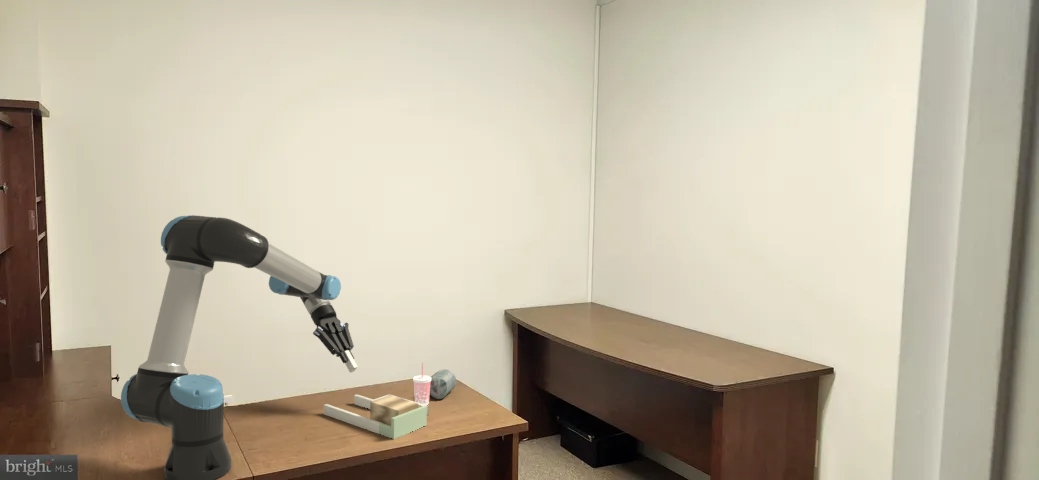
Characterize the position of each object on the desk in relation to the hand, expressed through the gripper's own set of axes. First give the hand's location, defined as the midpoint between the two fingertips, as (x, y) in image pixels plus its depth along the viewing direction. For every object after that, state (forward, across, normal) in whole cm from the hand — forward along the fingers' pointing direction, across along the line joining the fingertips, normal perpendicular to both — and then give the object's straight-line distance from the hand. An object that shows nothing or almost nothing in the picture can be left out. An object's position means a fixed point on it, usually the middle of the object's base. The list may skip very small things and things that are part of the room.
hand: (353, 369), depth 211 cm
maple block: (+23, 0, +3) cm, 23 cm away
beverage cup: (+18, -20, -2) cm, 26 cm away
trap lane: (+17, -3, -3) cm, 17 cm away
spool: (+16, -31, -3) cm, 35 cm away
